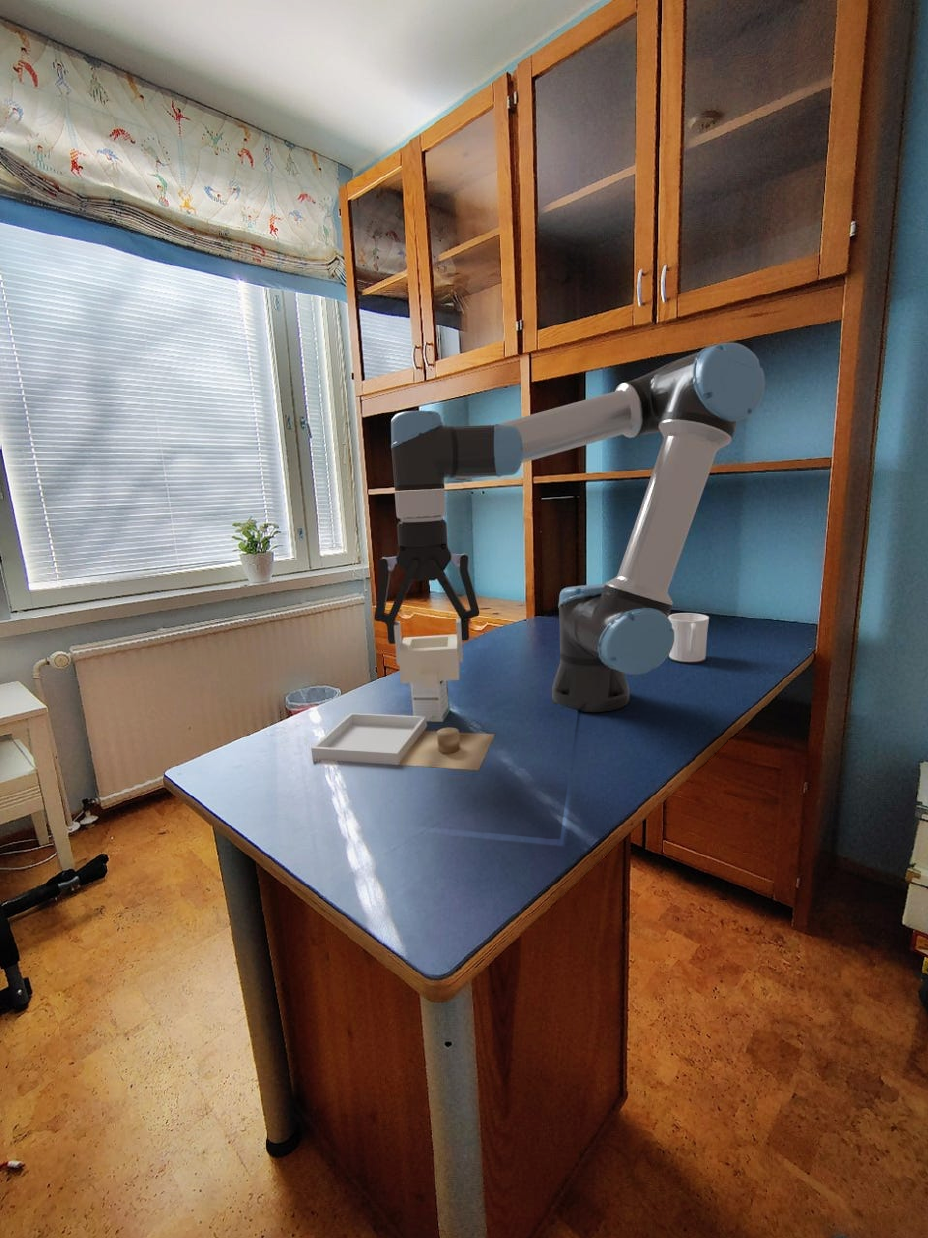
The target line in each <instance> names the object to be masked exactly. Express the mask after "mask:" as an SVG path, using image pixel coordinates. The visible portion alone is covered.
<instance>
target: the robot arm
mask: <svg viewBox="0 0 928 1238" xmlns="http://www.w3.org/2000/svg"><path fill="white" fill-rule="evenodd" d="M765 384H766V380H765V372H764V369H763V368H762V367H761V366H760V360H759V358H758V357H757V356H756V354H755V353H754V352H753V351H752V350H751V349H750V348H748V347H747V346H745V345H743V344H741V343H739V342H723V343H719V344H711V345H707V346H706V347H705V348H703V349H701V350H699V352H698V351H697V352H695V353H693V354H692V353H691V354H689V355H687V356H684V357H682V358H679V359H675V360H674V361H671V362H669V363H666V364H665V365H663V366H661V367H660V368H656V369H655V370H653V371H651V372H650V373H649V372H648V373H647V374H645V375H642V376H640V377H638V378H636V379H633V380H630V381H626V382H623V383H620V384H619V385H618V386H616V389H615V391H611V392H607V393H605V394H602V395H597V396H594V397H590V398H587V399H583V400H580V401H577V402H576V401H575V402H572V403H568V404H565V405H562V406H558V407H554V408H551V409H548V410H543V411H540V412H539V411H538V412H537V413H532V414H529V415H526V416H522V417H519V418H515V419H514V418H513V419H511V420H508V421H504V422H501V423H500V422H499V423H495V424H487V425H486V424H485V425H484V424H483V425H464V426H463V425H460V426H452V425H451V426H450V425H444V424H443V421H442V417H441V415H440V413H439V412H438V411H435V410H434V411H433V410H408V411H407V410H406V411H402V412H398V413H396V414H395V415H394V416H393V417H392V418H391V421H390V436H391V437H390V438H391V439H390V441H391V444H390V448H391V458H392V460H391V461H392V471H393V481H394V482H393V483H394V485H393V486H394V499H395V501H394V502H395V513H396V518H397V519H399V520H400V521H398V524H397V525H396V527H397V542H398V543H397V545H398V552H397V554H396V556H391V557H387V556H383V557H382V558H380V560H379V561H378V565H379V566H378V567H379V569H380V579H379V585H378V593H377V598H376V604H375V611H374V621H376V622H382V623H384V624H385V625H386V630H387V642H388V644H389V645H395V647H394V648H395V657H396V666H399V657H398V651H399V649H400V646H401V644H402V641H403V638H402V637H403V636H402V628H401V627H402V623H401V621H396V618H397V616H398V614H399V612H400V609H401V608H402V605H403V602H404V601H405V599H406V596H407V594H408V591H409V589H410V586H411V584H412V582H413V581H414V582H421V581H430V582H431V581H435V580H437V582H438V584H439V585H440V586H441V588H442V589H443V591H444V593H445V594H446V597H447V598H448V599H449V602H450V604H451V605H452V607H453V609H454V610H455V612H456V614H457V615H458V617H459V618H456V620H455V625H456V627H455V629H456V634H457V647H458V661H459V663H464V654H463V652H464V651H463V641H468V640H469V639H470V627H469V626H470V625H469V621H470V620H471V619H473V618H476V617H478V616H480V608H479V605H478V601H477V597H476V594H475V591H474V587H473V584H472V580H471V577H470V573H469V569H468V567H469V566H468V565H469V555H468V554H467V553H465V552H463V553H462V554H460V553H459V554H458V553H451V551H450V549H449V545H448V527H447V526H448V525H447V521H446V520H445V519H444V518H443V517H446V514H447V509H446V490H445V489H446V488H445V479H448V478H449V479H455V480H457V481H466V480H469V479H475V478H476V479H477V478H484V477H485V478H486V477H497V478H501V477H503V476H504V477H505V476H513V475H516V474H517V473H518V472H519V471H520V468H521V466H522V464H523V463H527V462H530V461H533V460H538V459H541V458H544V457H548V456H551V455H555V454H558V453H563V452H565V451H570V450H572V449H576V448H579V447H582V446H587V445H589V444H594V443H598V442H600V441H604V440H607V439H611V438H614V437H618V436H622V435H623V436H624V437H627V438H635V437H638V436H641V435H642V436H643V435H647V434H654V433H661V435H662V436H663V440H662V443H661V446H660V449H659V452H658V455H657V458H656V462H655V463H654V467H653V469H652V473H651V476H650V479H649V482H648V485H647V488H646V490H645V493H644V497H643V499H642V501H641V502H642V503H641V505H640V509H639V511H638V515H637V517H636V520H635V523H634V527H633V529H632V532H631V535H630V538H629V541H628V543H627V547H626V550H625V552H624V556H623V559H622V561H621V564H620V566H619V567H620V568H619V570H618V573H617V575H616V576H615V577H614V578H612V579H610V580H608V581H606V582H605V584H604V583H603V584H601V583H600V584H599V583H598V584H585V585H583V584H582V585H577V586H568V587H565V588H563V589H561V591H560V593H559V598H558V605H557V606H558V617H559V618H558V620H559V621H558V622H559V623H558V624H559V651H560V652H559V656H560V657H559V658H560V660H559V661H560V662H559V665H558V668H557V671H556V674H555V677H554V680H553V684H552V688H551V700H552V701H553V702H554V704H556V705H561V706H563V707H566V708H569V709H574V710H577V711H578V712H583V713H602V712H610V711H616V710H618V709H621V708H624V707H625V706H626V705H628V704H629V702H630V686H629V684H628V680H627V677H626V675H631V676H637V675H638V676H639V675H643V674H646V673H649V672H650V671H653V670H654V669H656V668H658V667H659V666H660V665H662V664H663V663H664V662H665V661H666V660H667V658H669V654H670V652H671V650H672V647H673V644H674V630H673V629H672V623H671V622H670V620H669V619H668V617H669V615H671V614H670V613H671V611H672V608H673V604H674V602H673V600H672V599H671V596H670V594H669V588H670V585H671V582H672V580H673V578H674V574H675V571H676V568H677V565H678V562H679V559H680V557H681V554H682V552H683V548H684V545H685V544H686V543H685V542H686V540H687V537H688V534H689V531H690V529H691V526H692V523H693V520H694V517H695V514H696V511H697V508H698V506H699V502H700V499H701V497H702V495H703V492H704V488H705V486H706V484H707V481H708V477H709V475H710V472H711V469H712V466H713V463H714V460H715V457H716V455H717V452H718V451H719V450H721V449H722V448H724V447H726V446H728V445H729V444H730V443H731V442H732V440H733V437H734V434H735V432H736V429H737V425H738V424H739V423H738V422H739V421H741V420H744V419H746V418H748V417H749V415H752V414H753V413H754V412H755V411H756V410H757V408H758V407H759V406H760V403H761V402H762V400H763V397H764V393H765V386H766V385H765ZM450 562H453V564H454V566H455V568H457V569H459V573H460V577H461V582H462V583H463V589H464V591H465V595H466V599H467V601H468V605H469V608H468V609H466V608H465V606H464V604H463V602H462V601H461V598H460V597H459V596H458V594H457V591H456V590H455V588H454V587H453V585H452V583H451V582H450V580H449V578H448V576H447V573H446V572H445V570H446V569H447V566H448V565H449V564H450ZM396 564H398V565H399V567H400V568H401V569H402V571H403V572H404V573H405V576H404V579H403V580H402V583H401V585H400V588H399V591H398V592H397V594H396V596H395V599H394V602H393V604H392V606H391V608H390V611H389V613H387V612H385V610H386V606H387V599H388V592H389V588H390V587H389V586H390V580H391V572H393V571H394V569H395V566H396Z"/></svg>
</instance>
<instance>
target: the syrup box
mask: <svg viewBox="0 0 928 1238" xmlns="http://www.w3.org/2000/svg"><path fill="white" fill-rule="evenodd" d="M409 686H410V694H411V695H410V696H411V704H412V716H426V718H427V722H436V723H437V722H440V723H441V722H444V720H445V718H446V717H447V715H448V714H449V712H450V702H449V699H450V698H449V688H448V687H449V686H448V681H438V685H437V687H423V688H421V682H417V683H409Z"/></svg>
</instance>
